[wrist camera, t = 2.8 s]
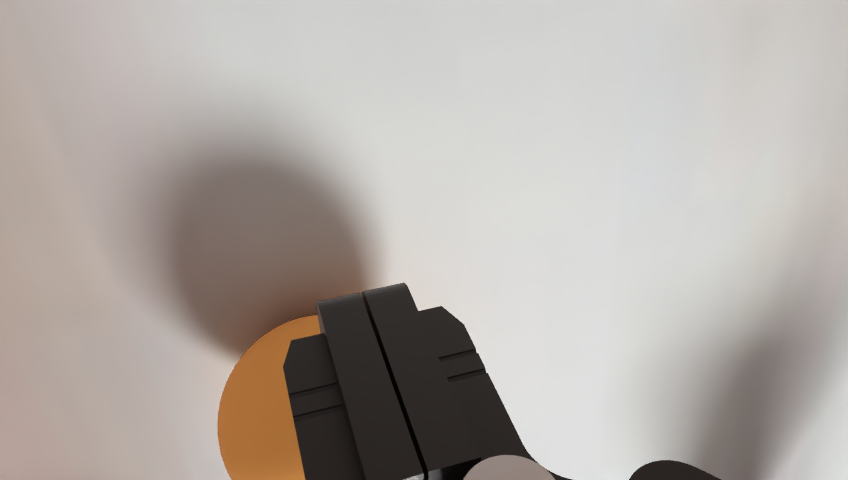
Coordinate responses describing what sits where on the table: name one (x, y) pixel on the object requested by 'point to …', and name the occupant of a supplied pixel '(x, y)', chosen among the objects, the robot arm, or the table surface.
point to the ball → (262, 409)
